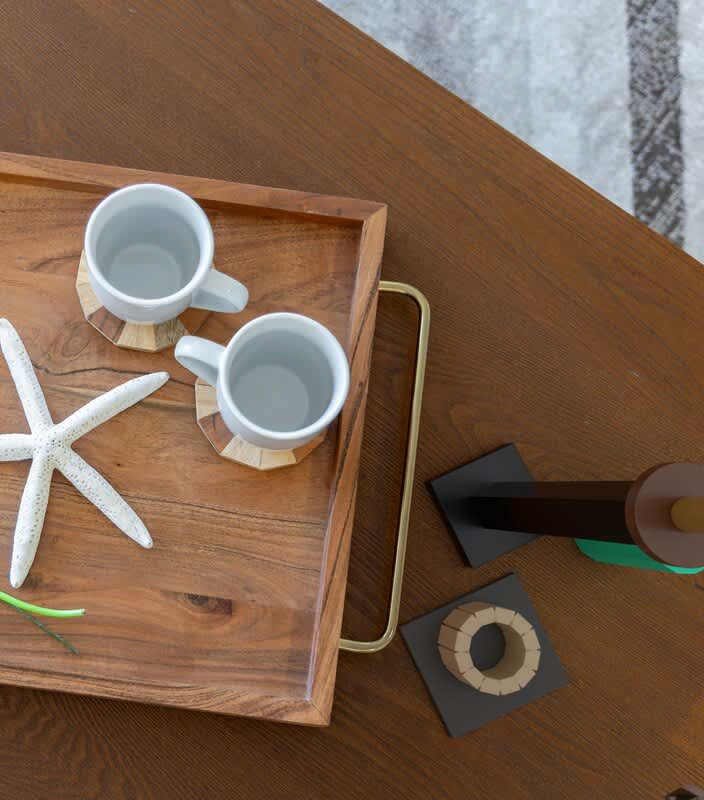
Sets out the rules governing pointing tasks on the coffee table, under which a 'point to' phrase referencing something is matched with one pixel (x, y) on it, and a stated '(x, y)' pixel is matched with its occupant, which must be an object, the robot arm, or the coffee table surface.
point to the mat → (480, 659)
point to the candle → (626, 556)
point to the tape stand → (570, 509)
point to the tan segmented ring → (517, 654)
